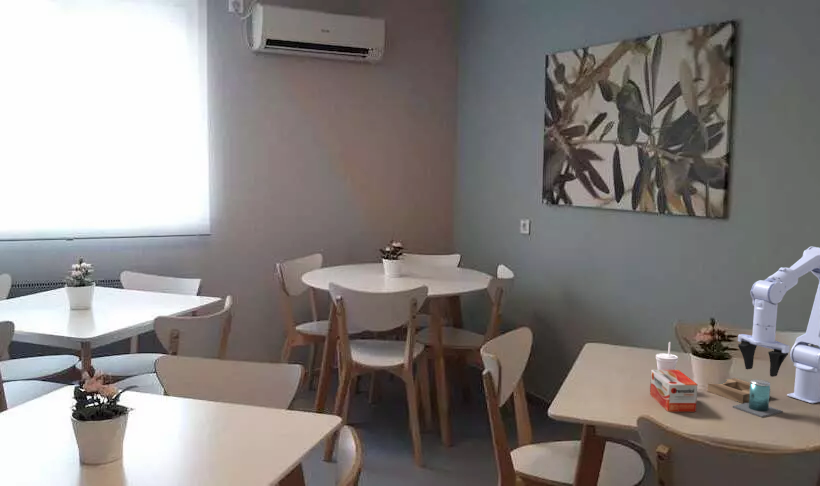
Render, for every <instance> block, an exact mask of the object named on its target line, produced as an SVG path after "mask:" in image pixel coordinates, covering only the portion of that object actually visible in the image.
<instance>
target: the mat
mask: <svg viewBox="0 0 820 486" xmlns="http://www.w3.org/2000/svg"><path fill="white" fill-rule="evenodd" d="M732 408H734V409H737V410H739V411H741V412H745V413H748V414H751V415H753V416H756V417H760V418H764V417H768V416H769V417H770V416H773V415H776V414H781V413H783V412H784V410H781V409H778V408H774V407H772V406H770V405H769V408H768V411H756V410H752V409H750V408H749V402H747V403H740V404H736V405H732Z"/></svg>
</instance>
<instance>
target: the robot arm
mask: <svg viewBox="0 0 820 486" xmlns="http://www.w3.org/2000/svg"><path fill="white" fill-rule="evenodd" d="M809 272H811V273H812V275H813V276H815V277H816V278H817V279H818V285H817V289H816V293H815V296H814V299H813V300H814V301H813V305H812V308H811V313H810V316H809V320H808V324H807V327H806V331H805V333H803V334H802V335H799V336H797V337H796V339H795V341H794V344H793V345H792V347H791V345H789V344H785V343H784V342H780V341H777V340H776V331H777V317H778V303H780V302H782V300H783V299H784V296H785V295H786V293H787V292H788V291H789V290H791V289H792V288H793V287H795V286H796V285H798V283H799V278H801V277H802V276H804V275H807V273H808V274H809ZM749 291H750V294H749V295H750V297H751V299H752V306H754V307H753V318H752V320H753V321H752V322H753V323H752V334H744V333H740V334H738V335H737V342H739V343H738V345H737V347H738V349H739V351H740V352H741V355H742V359H743V363H744V368H745V370H747V371H748V370H752V369H753V367H754V360H755V359H754V358H755V353H756V350H757V346H758V347H762V348H765V349H770V351H768V352H767V353H768V356H769V364H770V365H769V366H770V367H769V376H770V377H771V378H773V377H778V373H779V370H780V368H781V365H782V363H783V362H784V361H785V359H786V358H787V356H788V355H789V356H790V360H791V362H792V363H793V367H795V375H794V378H795V379H794V389H793V392H791V393H787V394H786V396H788V397H790V398H794V399H797V400H799V401H803V402H806V403H809V404H816V403H820V247H817V246H812V245H811V246H809V247H808V248H806V249H805V250H804V251H803V253H802V256H801V258H800V259H798V260H797V261H796V262H795V263H794V264H792V265H790V267H780V268H779V269H778V270H777V271H776V272H774V273H773V274H771V275H769V276H768V277H767V278H765V279H763V280H761V279H759V280H757V281H755V282H754V283H753V284H752V287H751V290H749ZM817 346H818V347H817ZM790 348H791V349H790Z"/></svg>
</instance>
